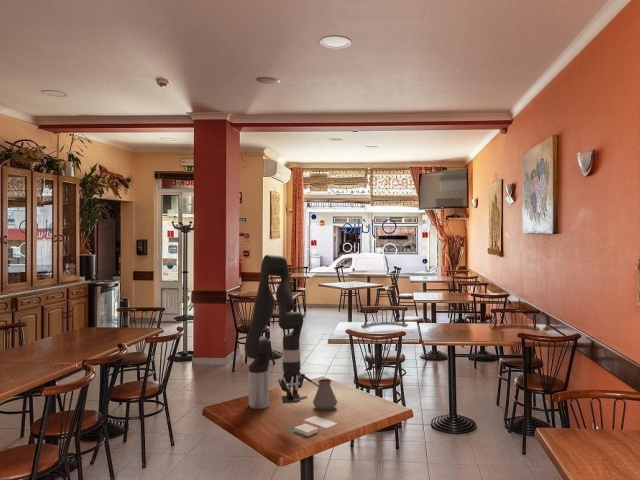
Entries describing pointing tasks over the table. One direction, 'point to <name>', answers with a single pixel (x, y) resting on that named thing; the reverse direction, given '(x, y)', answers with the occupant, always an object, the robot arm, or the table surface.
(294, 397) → the grey post on base
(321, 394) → the coffee pot
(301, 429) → the tile
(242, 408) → the table surface
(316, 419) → the rest pad
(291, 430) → the mat
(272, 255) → the robot arm
